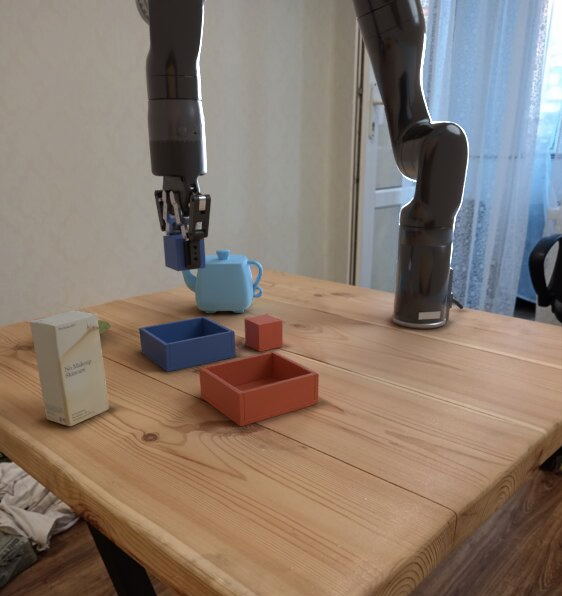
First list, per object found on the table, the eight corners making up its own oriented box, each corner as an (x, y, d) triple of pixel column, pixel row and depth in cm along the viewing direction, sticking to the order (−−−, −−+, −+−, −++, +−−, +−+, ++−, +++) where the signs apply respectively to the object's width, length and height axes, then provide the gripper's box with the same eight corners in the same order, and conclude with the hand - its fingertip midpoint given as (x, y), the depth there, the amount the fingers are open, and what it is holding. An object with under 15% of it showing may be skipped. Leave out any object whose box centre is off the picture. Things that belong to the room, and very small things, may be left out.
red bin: (273, 378, 79) (273, 350, 78) (318, 403, 72) (318, 373, 70) (200, 397, 74) (198, 367, 72) (240, 426, 66) (239, 394, 64)
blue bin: (205, 339, 96) (204, 316, 94) (235, 356, 88) (234, 331, 86) (141, 352, 90) (138, 327, 89) (167, 372, 82) (164, 345, 81)
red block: (268, 339, 96) (267, 314, 94) (282, 346, 92) (282, 320, 91) (245, 344, 93) (244, 318, 92) (259, 351, 90) (258, 324, 88)
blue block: (192, 263, 86) (190, 233, 85) (205, 267, 83) (204, 236, 81) (165, 266, 84) (162, 235, 82) (177, 271, 81) (175, 239, 79)
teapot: (179, 300, 121) (175, 245, 116) (265, 300, 120) (263, 244, 116) (167, 316, 109) (162, 256, 105) (262, 316, 109) (261, 255, 105)
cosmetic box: (69, 428, 66) (53, 326, 61) (44, 419, 68) (26, 321, 64) (111, 408, 71) (99, 313, 66) (87, 401, 73) (73, 308, 68)
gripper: (227, 137, 74) (232, 270, 80) (180, 139, 85) (187, 256, 91) (173, 137, 70) (182, 277, 76) (131, 138, 81) (142, 261, 87)
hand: (185, 264), depth 83 cm, fingers closed on blue block, 4 cm apart
